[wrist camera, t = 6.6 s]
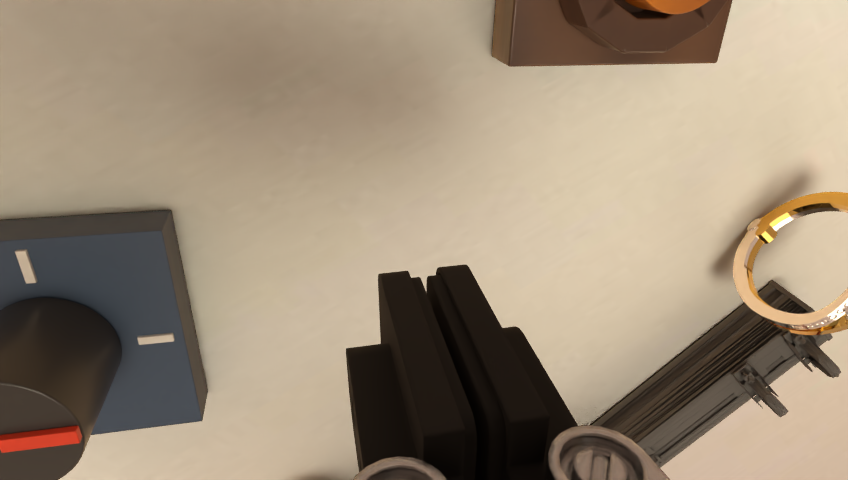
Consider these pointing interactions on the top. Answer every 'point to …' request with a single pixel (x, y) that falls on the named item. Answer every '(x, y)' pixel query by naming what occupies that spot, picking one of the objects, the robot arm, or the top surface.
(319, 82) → the top surface
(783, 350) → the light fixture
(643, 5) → the power button
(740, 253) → the ring
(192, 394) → the dimmer panel
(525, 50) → the switch block
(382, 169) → the top surface
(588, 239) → the top surface
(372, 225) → the top surface
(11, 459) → the dimmer knob
